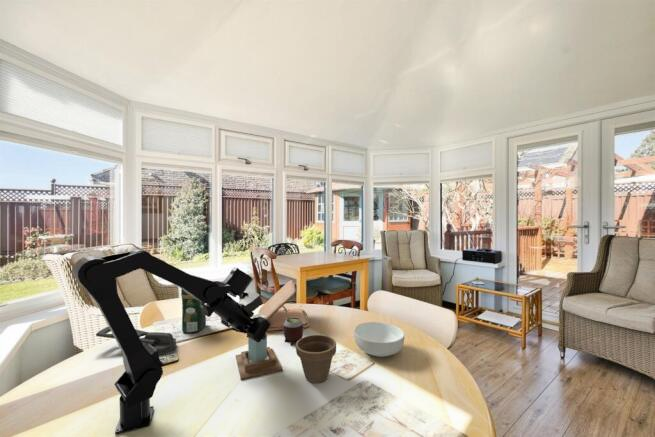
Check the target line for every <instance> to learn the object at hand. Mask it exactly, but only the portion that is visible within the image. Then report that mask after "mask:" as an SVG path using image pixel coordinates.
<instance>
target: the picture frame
mask: <svg viewBox="0 0 655 437" xmlns="http://www.w3.org/2000/svg"><path fill="white" fill-rule="evenodd" d="M235 360H236V364H237V368H238V373H239V374H238V375H239V377H240V380H241V381H243V380H247V379H252V378H257V377H261V376H265V375H266V376H267V375H270V374H275V373H280V372H282V371H284V370H283V366H282V364H281V362H280V361H279V359H278V356H277V355H276V353H275V351H274V348H273V347H272V348H271V347H270V346H267V358H266V359H264V360H261V361H258V362H254V361H252V360H250V359H249V358H248V350H245V351H241V352H240V354H239V353H238V354H235Z"/></svg>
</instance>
